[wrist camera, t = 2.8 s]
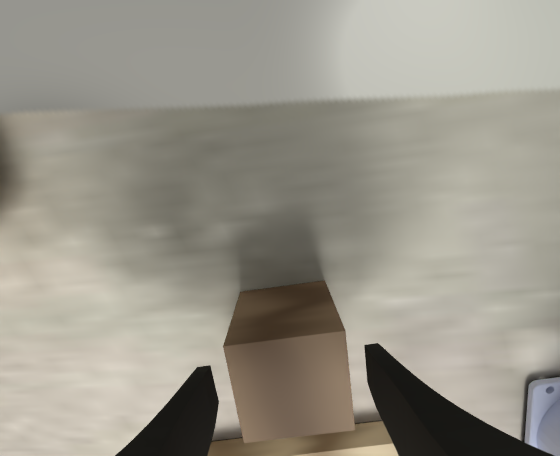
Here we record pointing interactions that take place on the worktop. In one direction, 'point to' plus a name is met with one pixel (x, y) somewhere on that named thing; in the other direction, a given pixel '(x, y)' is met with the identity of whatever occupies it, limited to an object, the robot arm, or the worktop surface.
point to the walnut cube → (289, 363)
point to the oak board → (315, 444)
